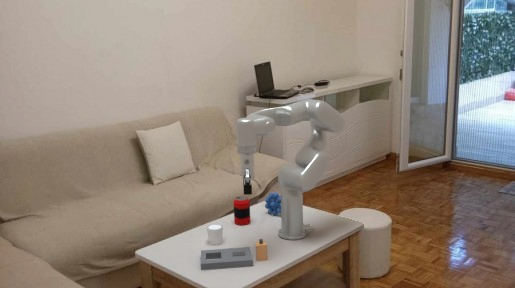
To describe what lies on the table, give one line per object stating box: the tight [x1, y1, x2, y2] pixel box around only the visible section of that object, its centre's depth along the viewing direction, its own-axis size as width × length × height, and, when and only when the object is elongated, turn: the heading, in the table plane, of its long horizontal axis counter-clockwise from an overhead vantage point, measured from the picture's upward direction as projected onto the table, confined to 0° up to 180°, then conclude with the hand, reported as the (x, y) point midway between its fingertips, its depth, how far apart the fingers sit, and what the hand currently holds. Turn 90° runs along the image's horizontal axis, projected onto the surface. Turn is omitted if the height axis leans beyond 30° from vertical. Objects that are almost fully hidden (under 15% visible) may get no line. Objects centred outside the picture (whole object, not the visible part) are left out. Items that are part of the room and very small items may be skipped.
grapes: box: [264, 192, 281, 216], centre depth 243 cm, size 12×7×12 cm, turn 51°
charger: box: [255, 238, 268, 262], centre depth 198 cm, size 4×4×8 cm
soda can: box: [233, 196, 251, 226], centre depth 235 cm, size 8×8×12 cm
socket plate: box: [200, 246, 254, 271], centre depth 197 cm, size 20×12×3 cm, turn 96°
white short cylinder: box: [206, 223, 224, 245], centre depth 215 cm, size 7×7×7 cm
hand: (247, 190), depth 201 cm, fingers open, 9 cm apart
